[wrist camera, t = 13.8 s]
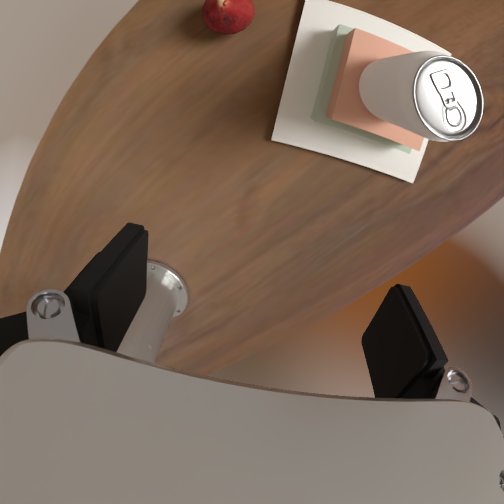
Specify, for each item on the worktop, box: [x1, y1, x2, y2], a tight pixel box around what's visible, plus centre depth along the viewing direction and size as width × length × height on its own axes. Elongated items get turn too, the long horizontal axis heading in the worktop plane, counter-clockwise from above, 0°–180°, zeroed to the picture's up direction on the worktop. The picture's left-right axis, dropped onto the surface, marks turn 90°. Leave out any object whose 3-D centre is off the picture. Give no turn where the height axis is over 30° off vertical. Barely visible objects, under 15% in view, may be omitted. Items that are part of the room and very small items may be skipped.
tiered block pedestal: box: [271, 0, 451, 183], centre depth 27 cm, size 20×20×9 cm
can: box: [359, 51, 483, 142], centre depth 18 cm, size 6×6×12 cm
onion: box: [202, 0, 255, 34], centre depth 24 cm, size 6×6×8 cm
